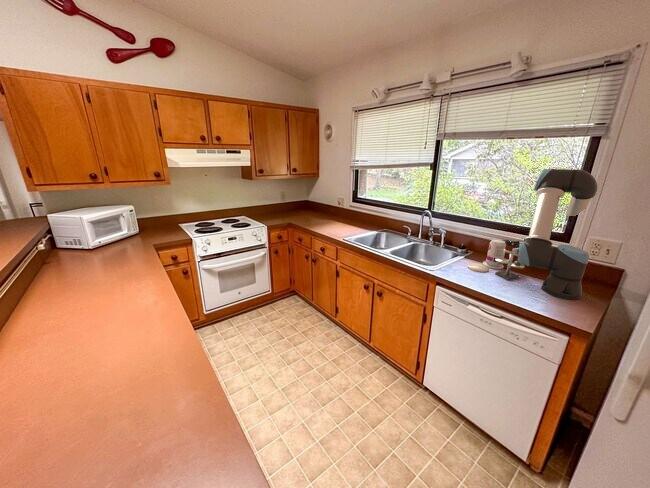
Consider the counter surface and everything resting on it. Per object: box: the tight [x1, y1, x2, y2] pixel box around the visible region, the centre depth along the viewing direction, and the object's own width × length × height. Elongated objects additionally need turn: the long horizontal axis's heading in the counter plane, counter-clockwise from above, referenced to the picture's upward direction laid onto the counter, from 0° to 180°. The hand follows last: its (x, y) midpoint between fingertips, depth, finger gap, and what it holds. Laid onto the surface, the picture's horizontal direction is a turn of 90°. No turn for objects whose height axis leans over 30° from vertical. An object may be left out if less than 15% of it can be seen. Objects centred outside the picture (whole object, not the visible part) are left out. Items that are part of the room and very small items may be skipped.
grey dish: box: [482, 260, 504, 270], centre depth 164 cm, size 11×11×1 cm
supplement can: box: [485, 238, 507, 267], centre depth 162 cm, size 8×8×15 cm
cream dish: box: [467, 262, 490, 273], centre depth 161 cm, size 11×11×1 cm
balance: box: [494, 249, 526, 281], centre depth 147 cm, size 8×19×17 cm, turn 109°
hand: (501, 247), depth 163 cm, fingers open, 13 cm apart
